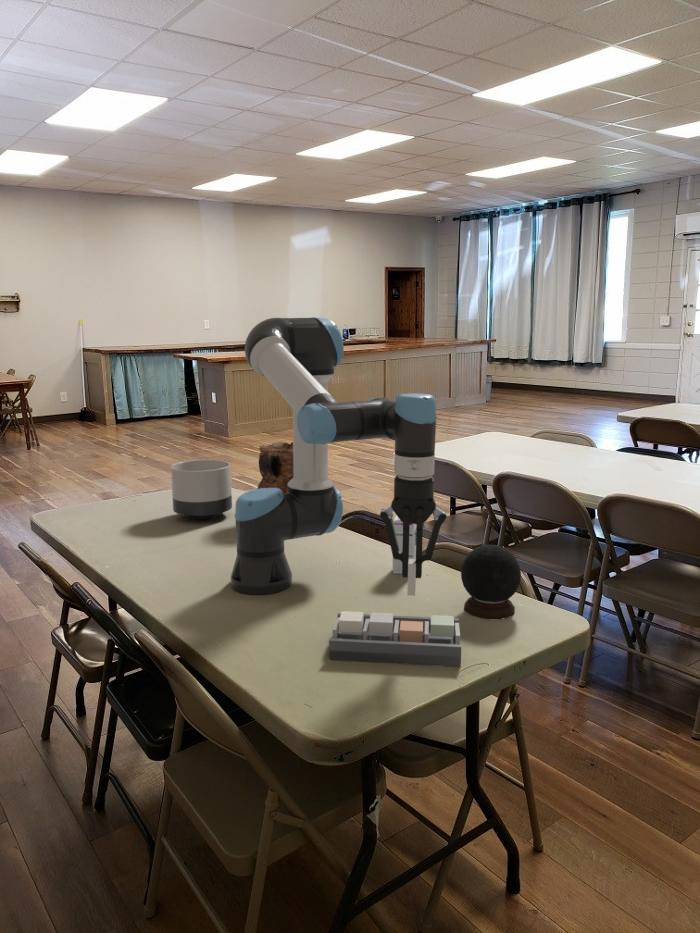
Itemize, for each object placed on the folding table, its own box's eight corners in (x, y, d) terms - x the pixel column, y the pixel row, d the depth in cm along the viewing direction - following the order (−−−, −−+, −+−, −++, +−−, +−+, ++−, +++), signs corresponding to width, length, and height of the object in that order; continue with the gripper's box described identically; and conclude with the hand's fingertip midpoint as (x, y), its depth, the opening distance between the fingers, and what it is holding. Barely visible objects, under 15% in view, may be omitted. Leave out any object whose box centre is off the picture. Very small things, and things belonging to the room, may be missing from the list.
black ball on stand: (481, 625, 150) (483, 558, 147) (448, 603, 162) (450, 541, 159) (531, 615, 155) (534, 550, 152) (496, 594, 167) (499, 534, 164)
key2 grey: (369, 633, 138) (369, 621, 137) (371, 623, 142) (371, 612, 142) (392, 634, 137) (392, 622, 137) (393, 624, 142) (393, 613, 141)
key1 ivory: (338, 631, 138) (338, 620, 138) (341, 622, 143) (341, 611, 142) (361, 632, 138) (361, 621, 137) (363, 623, 142) (363, 612, 142)
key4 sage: (430, 636, 136) (430, 624, 136) (430, 626, 141) (430, 615, 140) (453, 637, 136) (454, 625, 135) (453, 627, 140) (453, 616, 140)
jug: (266, 508, 244) (264, 438, 239) (325, 510, 241) (325, 439, 236) (249, 526, 223) (246, 449, 218) (313, 529, 220) (312, 451, 215)
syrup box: (414, 575, 180) (415, 520, 177) (391, 573, 181) (392, 519, 178) (417, 567, 185) (418, 515, 182) (394, 566, 186) (395, 513, 183)
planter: (226, 525, 225) (224, 471, 221) (166, 524, 225) (163, 471, 222) (236, 509, 244) (235, 459, 240) (181, 509, 244) (179, 459, 240)
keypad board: (329, 659, 135) (329, 638, 134) (338, 630, 147) (338, 611, 146) (460, 666, 132) (461, 645, 131) (458, 636, 145) (458, 616, 144)
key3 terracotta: (399, 641, 137) (399, 630, 137) (400, 631, 142) (400, 620, 141) (422, 642, 137) (422, 631, 136) (422, 632, 141) (423, 621, 141)
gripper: (378, 479, 130) (376, 598, 135) (449, 481, 128) (445, 602, 133) (381, 470, 137) (379, 584, 142) (448, 472, 136) (444, 587, 141)
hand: (411, 592), depth 138 cm, fingers closed
